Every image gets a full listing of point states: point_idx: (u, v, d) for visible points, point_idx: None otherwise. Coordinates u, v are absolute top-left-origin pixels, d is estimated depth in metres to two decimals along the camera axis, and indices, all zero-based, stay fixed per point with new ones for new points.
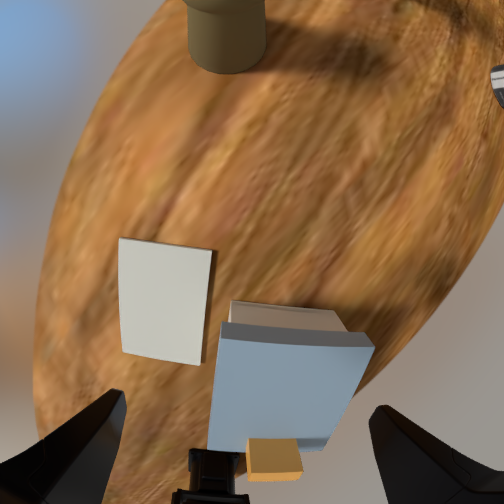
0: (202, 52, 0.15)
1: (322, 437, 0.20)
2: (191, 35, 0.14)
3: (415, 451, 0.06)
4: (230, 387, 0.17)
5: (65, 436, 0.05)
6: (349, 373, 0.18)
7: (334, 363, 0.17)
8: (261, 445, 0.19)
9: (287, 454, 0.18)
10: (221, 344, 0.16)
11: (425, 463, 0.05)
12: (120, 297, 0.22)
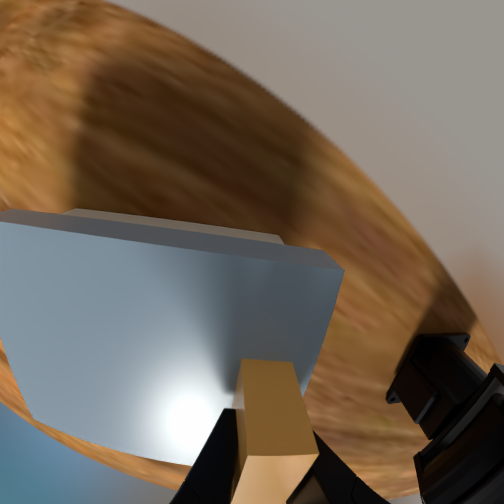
0: None
1: (258, 285, 0.08)
2: None
3: (310, 471, 0.06)
4: (93, 432, 0.09)
5: (208, 470, 0.05)
6: (20, 260, 0.07)
7: (9, 295, 0.07)
8: None
9: (238, 421, 0.07)
10: (39, 420, 0.09)
11: (318, 489, 0.05)
12: None
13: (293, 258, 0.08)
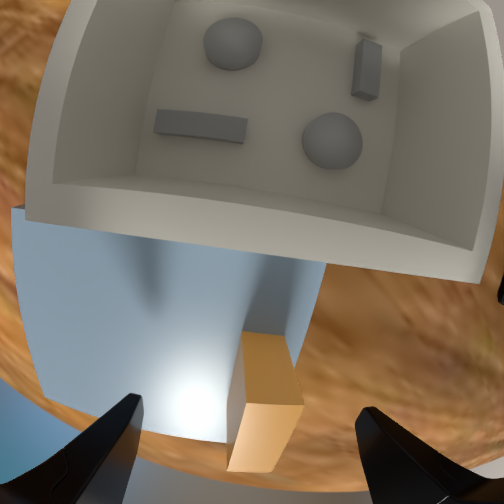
0: None
1: (257, 268, 0.09)
2: None
3: (400, 455, 0.06)
4: (103, 407, 0.11)
5: (86, 444, 0.05)
6: (50, 244, 0.09)
7: (36, 277, 0.09)
8: (229, 401, 0.10)
9: (238, 383, 0.09)
10: (50, 398, 0.11)
11: (410, 468, 0.05)
12: None
13: None
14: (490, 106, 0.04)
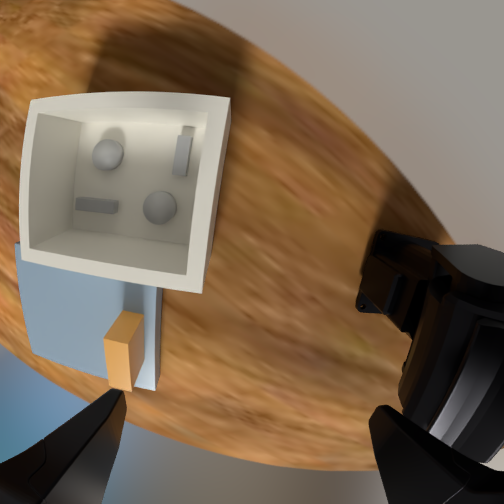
0: None
1: None
2: None
3: (415, 451, 0.06)
4: (64, 356, 0.19)
5: (65, 436, 0.05)
6: (35, 263, 0.16)
7: (29, 279, 0.16)
8: None
9: None
10: (35, 353, 0.18)
11: (425, 463, 0.05)
12: None
13: None
14: (195, 192, 0.12)
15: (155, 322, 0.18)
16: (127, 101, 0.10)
